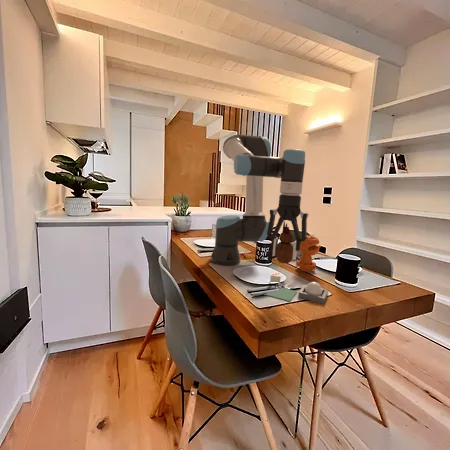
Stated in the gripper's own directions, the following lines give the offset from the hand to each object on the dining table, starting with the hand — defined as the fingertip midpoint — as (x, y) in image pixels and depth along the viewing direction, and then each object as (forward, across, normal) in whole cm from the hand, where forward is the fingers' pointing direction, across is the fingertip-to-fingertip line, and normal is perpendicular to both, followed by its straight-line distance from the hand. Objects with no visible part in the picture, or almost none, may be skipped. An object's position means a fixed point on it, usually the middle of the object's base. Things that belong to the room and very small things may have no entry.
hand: (284, 256), depth 98 cm
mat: (+14, 0, 0) cm, 14 cm away
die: (+14, -5, +9) cm, 18 cm away
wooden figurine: (+2, 0, 0) cm, 2 cm away
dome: (+15, +11, +5) cm, 19 cm away
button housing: (+14, +11, +5) cm, 19 cm away
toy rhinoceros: (+14, -8, +54) cm, 56 cm away
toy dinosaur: (+14, +2, +35) cm, 38 cm away
